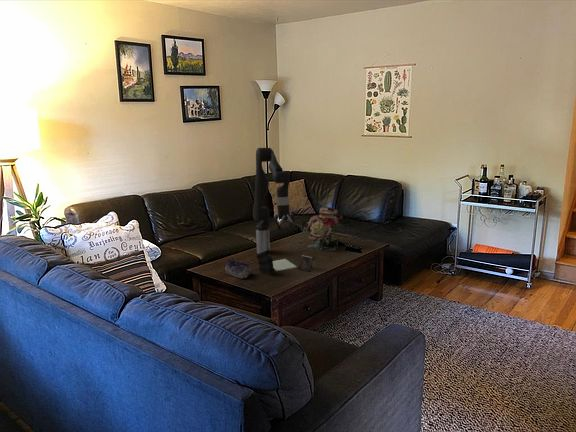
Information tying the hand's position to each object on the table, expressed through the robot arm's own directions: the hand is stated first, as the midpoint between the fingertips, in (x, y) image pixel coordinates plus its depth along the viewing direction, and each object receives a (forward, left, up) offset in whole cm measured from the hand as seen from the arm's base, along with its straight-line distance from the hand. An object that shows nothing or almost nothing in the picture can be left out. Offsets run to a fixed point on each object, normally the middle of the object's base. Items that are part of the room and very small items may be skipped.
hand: (284, 229), depth 290 cm
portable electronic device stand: (+6, +11, -26) cm, 29 cm away
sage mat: (-8, 0, -26) cm, 27 cm away
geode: (-6, -31, -27) cm, 41 cm away
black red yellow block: (-1, -14, -26) cm, 30 cm away
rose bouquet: (-30, +44, -26) cm, 60 cm away
